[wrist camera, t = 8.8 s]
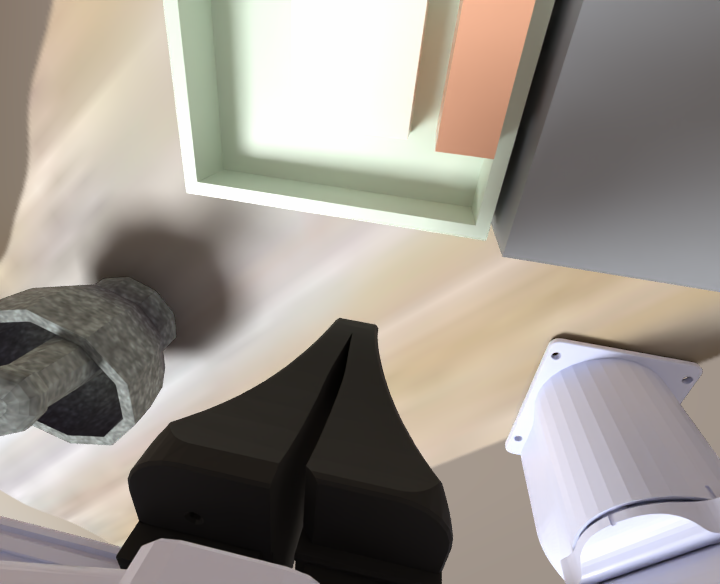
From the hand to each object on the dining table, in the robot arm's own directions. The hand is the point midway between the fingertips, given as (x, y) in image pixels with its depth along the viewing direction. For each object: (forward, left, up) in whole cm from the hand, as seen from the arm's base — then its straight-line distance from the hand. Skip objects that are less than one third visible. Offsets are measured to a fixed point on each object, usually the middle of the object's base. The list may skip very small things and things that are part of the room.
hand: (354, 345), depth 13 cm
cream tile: (+8, +2, -7) cm, 11 cm away
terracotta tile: (+8, -4, -6) cm, 11 cm away
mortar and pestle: (-8, +16, -10) cm, 20 cm away
